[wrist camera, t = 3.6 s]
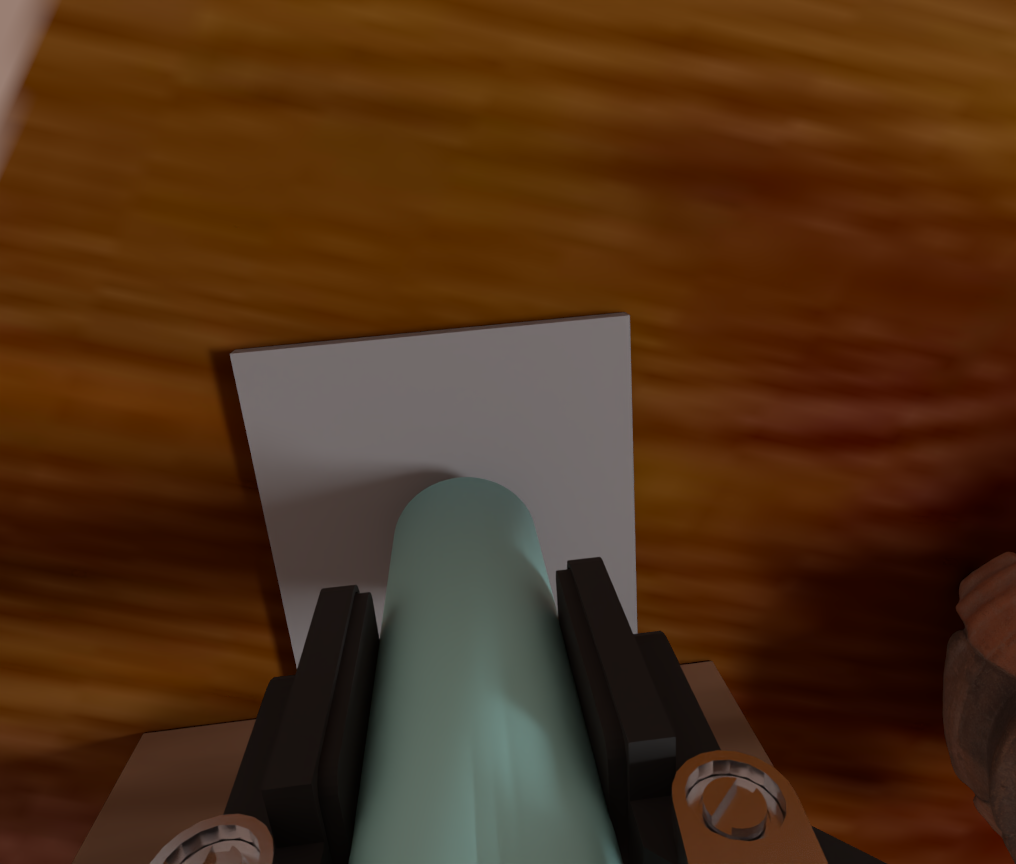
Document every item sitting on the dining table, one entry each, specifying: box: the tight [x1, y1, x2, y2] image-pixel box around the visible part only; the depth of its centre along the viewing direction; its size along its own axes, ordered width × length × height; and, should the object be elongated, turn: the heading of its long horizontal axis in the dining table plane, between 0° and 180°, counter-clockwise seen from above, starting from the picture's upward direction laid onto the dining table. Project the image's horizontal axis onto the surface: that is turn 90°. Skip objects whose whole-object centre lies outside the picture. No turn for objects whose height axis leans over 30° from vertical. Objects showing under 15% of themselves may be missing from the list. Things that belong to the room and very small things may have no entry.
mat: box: [230, 312, 637, 668], centre depth 16 cm, size 10×8×1 cm
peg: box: [349, 477, 623, 864], centre depth 9 cm, size 3×3×12 cm
